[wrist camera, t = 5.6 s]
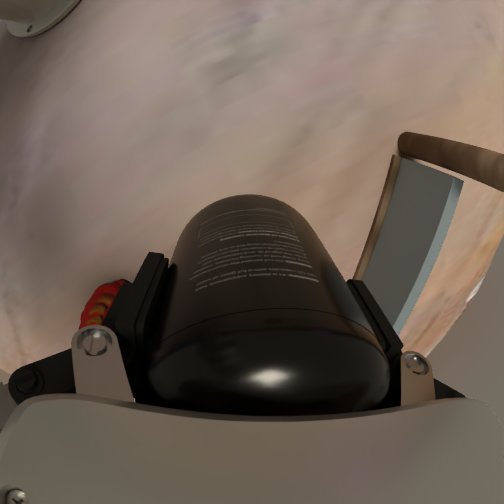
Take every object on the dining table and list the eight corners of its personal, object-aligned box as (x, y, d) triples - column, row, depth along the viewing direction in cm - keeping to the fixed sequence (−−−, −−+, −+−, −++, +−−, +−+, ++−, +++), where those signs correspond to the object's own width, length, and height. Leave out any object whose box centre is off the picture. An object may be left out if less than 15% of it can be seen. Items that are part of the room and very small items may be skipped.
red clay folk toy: (164, 321, 31) (133, 434, 18) (118, 334, 32) (78, 433, 19) (130, 267, 28) (69, 376, 15) (84, 285, 29) (21, 380, 15)
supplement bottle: (157, 284, 14) (94, 528, 4) (216, 163, 12) (137, 526, 1) (271, 330, 16) (307, 544, 5) (343, 233, 14) (493, 463, 3)
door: (390, 153, 23) (440, 170, 16) (411, 161, 24) (463, 181, 17) (339, 305, 31) (362, 355, 23) (359, 307, 31) (386, 355, 24)
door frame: (398, 127, 23) (497, 147, 11) (421, 137, 23) (518, 164, 12) (334, 321, 32) (369, 410, 21) (355, 323, 33) (395, 407, 21)
